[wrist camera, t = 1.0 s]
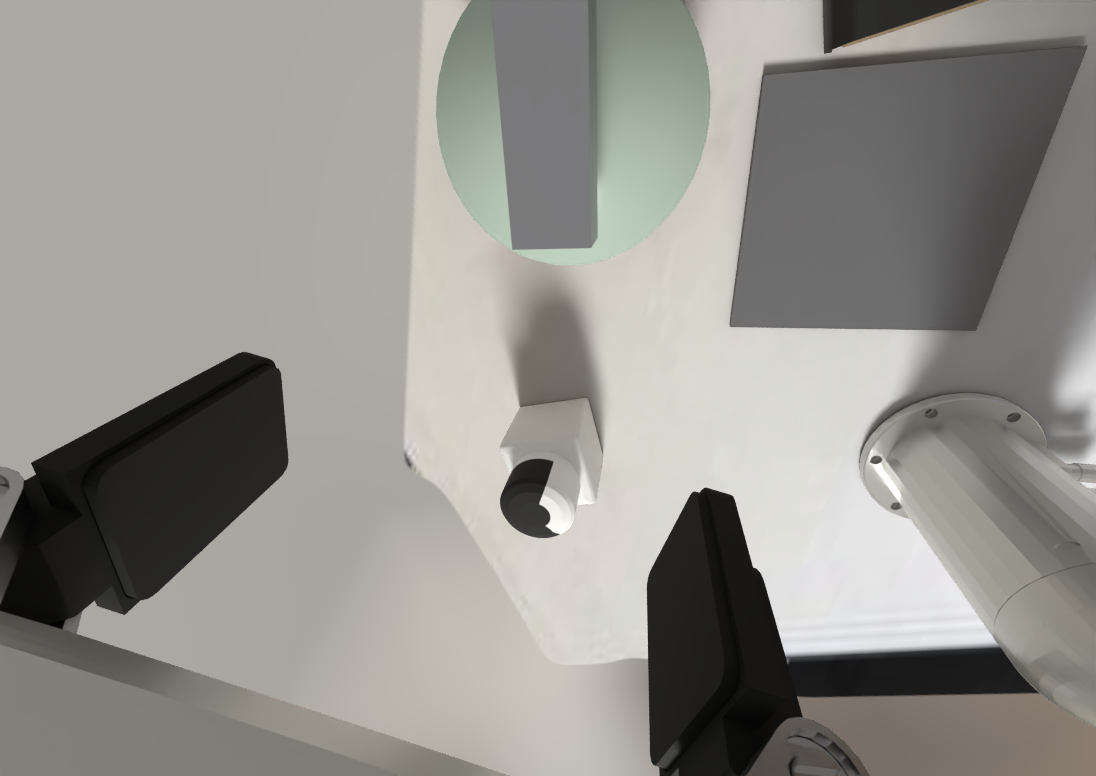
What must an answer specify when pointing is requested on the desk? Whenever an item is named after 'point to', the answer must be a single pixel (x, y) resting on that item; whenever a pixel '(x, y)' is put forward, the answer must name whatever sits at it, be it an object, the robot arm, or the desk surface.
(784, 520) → the desk surface
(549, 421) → the medicine bottle
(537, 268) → the desk surface
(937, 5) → the file folder
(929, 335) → the desk surface
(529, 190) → the cover
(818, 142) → the mat
